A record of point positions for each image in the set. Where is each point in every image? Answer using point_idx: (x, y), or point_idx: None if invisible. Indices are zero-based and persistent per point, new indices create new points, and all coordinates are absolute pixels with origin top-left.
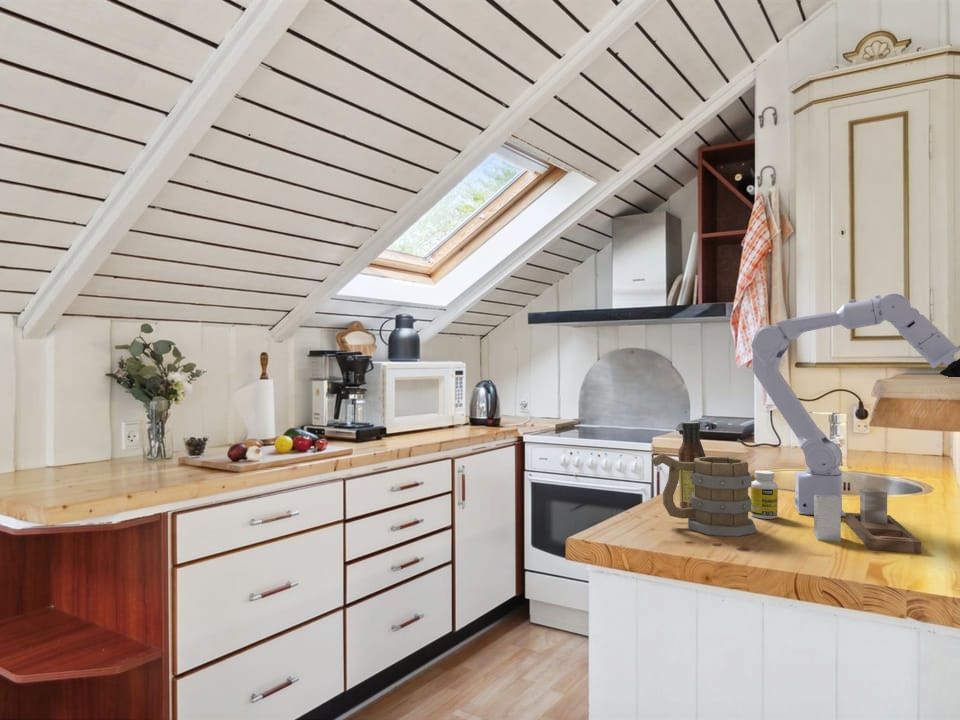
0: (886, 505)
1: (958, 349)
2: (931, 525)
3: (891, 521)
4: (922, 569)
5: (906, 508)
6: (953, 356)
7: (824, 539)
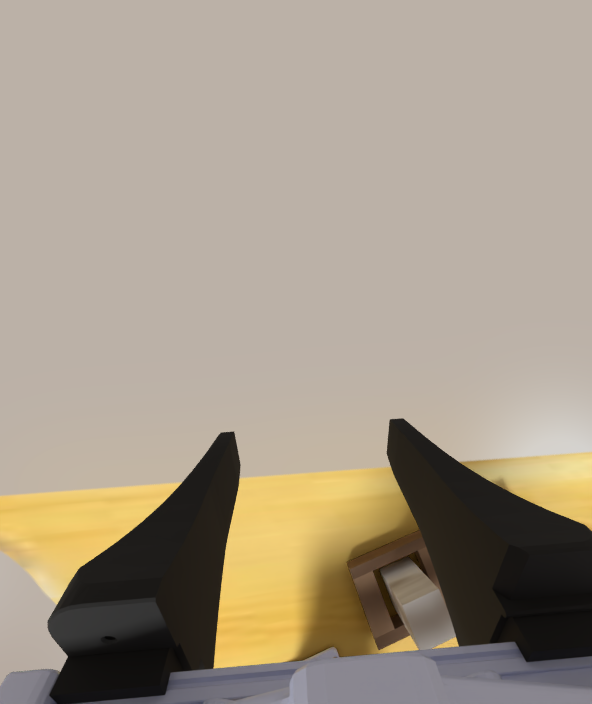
0: (427, 577)
1: (452, 692)
2: (308, 501)
3: (400, 557)
4: (575, 484)
5: None
6: (501, 678)
7: None
